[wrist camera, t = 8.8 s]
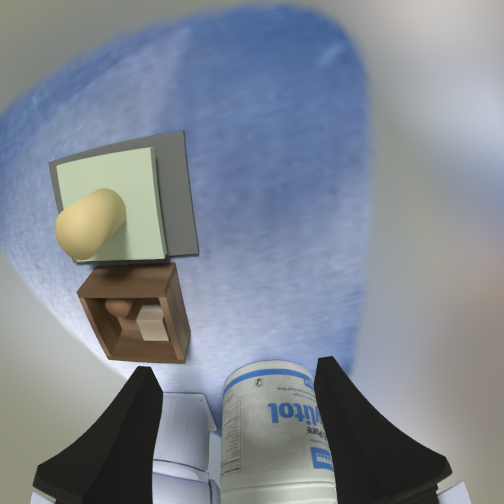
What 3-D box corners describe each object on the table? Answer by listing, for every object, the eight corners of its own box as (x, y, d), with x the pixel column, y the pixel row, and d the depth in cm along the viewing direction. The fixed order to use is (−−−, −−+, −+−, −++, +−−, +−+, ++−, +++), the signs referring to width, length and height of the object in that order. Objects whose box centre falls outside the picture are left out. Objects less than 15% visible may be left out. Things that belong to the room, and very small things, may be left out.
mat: (199, 251, 19) (198, 253, 19) (75, 260, 19) (73, 263, 19) (184, 130, 16) (183, 130, 15) (51, 161, 15) (48, 162, 15)
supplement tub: (327, 361, 26) (365, 491, 13) (290, 408, 30) (307, 513, 16) (235, 347, 24) (239, 504, 11) (213, 399, 28) (210, 516, 15)
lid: (169, 248, 19) (147, 293, 14) (86, 251, 19) (50, 290, 14) (157, 145, 16) (123, 156, 11) (68, 161, 15) (19, 179, 10)
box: (191, 330, 23) (185, 363, 20) (121, 329, 23) (108, 359, 19) (176, 260, 20) (164, 290, 16) (98, 265, 20) (76, 292, 16)
